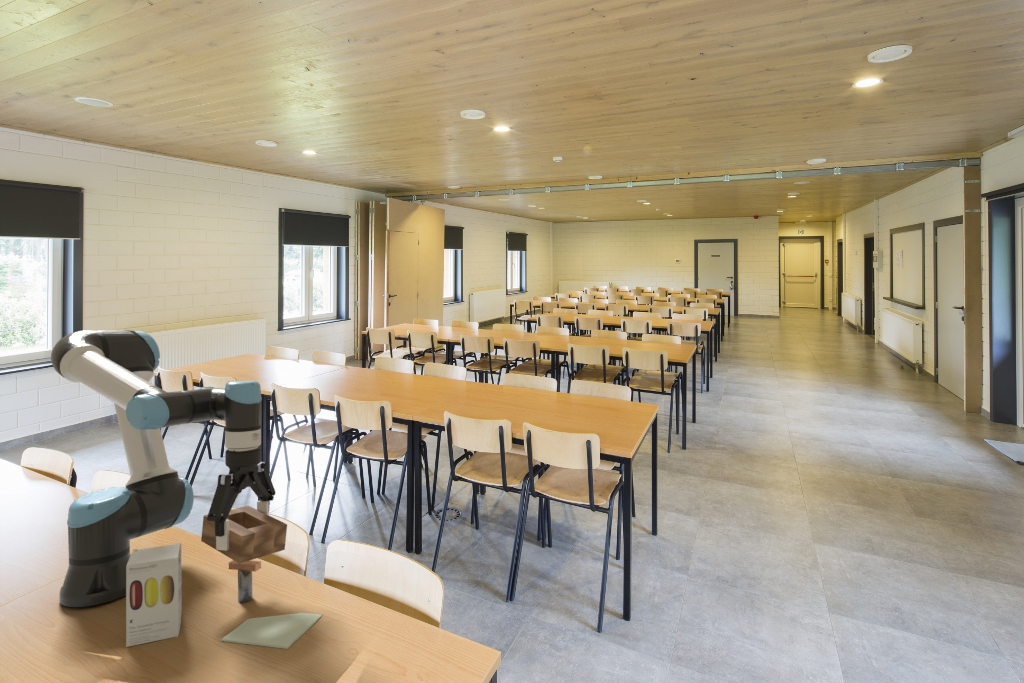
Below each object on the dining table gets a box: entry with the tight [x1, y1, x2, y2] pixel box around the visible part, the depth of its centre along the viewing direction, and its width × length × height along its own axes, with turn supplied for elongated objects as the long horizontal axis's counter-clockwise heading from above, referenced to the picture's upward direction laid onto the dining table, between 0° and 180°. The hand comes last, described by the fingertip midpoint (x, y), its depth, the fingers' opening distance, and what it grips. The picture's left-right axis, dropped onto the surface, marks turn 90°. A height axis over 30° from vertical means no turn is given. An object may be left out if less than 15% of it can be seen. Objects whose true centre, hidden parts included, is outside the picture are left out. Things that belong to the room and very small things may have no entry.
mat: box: [221, 612, 323, 650], centre depth 119 cm, size 15×13×1 cm
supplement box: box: [125, 542, 183, 648], centre depth 118 cm, size 10×9×17 cm
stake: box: [228, 560, 262, 604], centre depth 129 cm, size 7×4×10 cm, turn 78°
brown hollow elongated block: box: [200, 505, 288, 564], centre depth 129 cm, size 11×16×6 cm
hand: (243, 538), depth 129 cm, fingers closed on brown hollow elongated block, 13 cm apart
